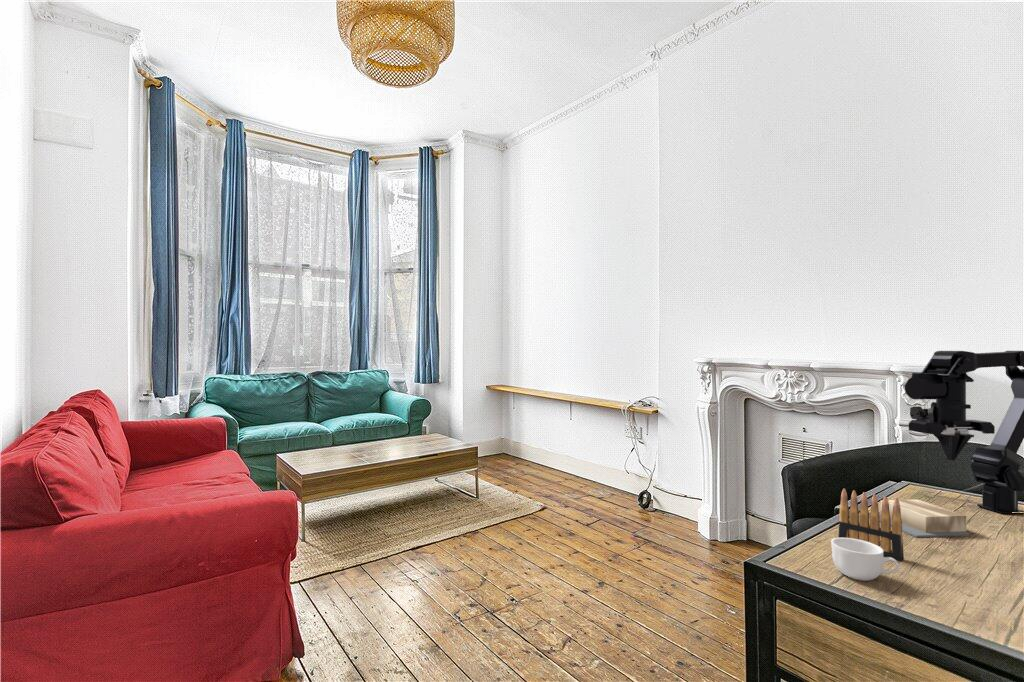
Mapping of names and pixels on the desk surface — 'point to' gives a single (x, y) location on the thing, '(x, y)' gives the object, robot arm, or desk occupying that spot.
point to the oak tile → (928, 516)
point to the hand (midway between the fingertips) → (950, 460)
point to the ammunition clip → (872, 524)
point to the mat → (920, 533)
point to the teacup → (859, 558)
